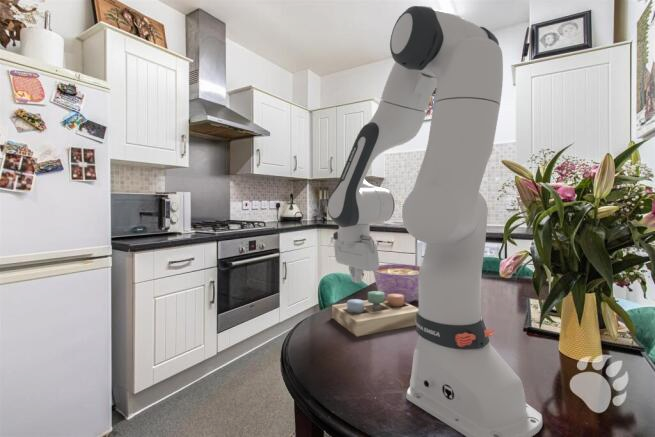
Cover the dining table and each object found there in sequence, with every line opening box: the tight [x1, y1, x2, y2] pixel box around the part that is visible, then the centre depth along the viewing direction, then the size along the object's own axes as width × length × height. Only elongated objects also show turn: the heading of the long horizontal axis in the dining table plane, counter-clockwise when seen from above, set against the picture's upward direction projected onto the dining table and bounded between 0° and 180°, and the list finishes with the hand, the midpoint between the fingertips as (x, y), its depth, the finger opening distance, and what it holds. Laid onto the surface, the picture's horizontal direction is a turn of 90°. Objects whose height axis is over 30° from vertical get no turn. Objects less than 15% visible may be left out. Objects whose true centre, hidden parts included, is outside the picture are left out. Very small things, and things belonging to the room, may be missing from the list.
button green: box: [367, 290, 385, 312], centre depth 99 cm, size 5×5×6 cm
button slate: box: [346, 298, 364, 315], centre depth 96 cm, size 5×5×6 cm
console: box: [331, 297, 419, 337], centre depth 99 cm, size 16×22×4 cm
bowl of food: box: [372, 263, 421, 304], centre depth 120 cm, size 20×20×12 cm
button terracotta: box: [387, 294, 404, 309], centre depth 102 cm, size 5×5×6 cm
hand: (356, 282), depth 95 cm, fingers closed
